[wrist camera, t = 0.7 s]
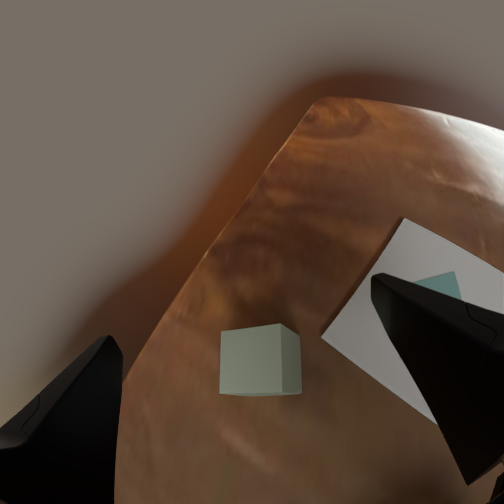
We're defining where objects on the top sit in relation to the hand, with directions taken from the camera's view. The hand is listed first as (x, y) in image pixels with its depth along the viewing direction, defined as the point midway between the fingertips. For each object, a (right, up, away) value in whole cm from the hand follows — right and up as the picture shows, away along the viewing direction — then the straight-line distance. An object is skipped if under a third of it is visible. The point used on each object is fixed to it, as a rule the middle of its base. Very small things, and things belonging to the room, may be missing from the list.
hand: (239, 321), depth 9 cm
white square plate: (+16, -3, +12) cm, 20 cm away
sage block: (+2, -9, +17) cm, 20 cm away
